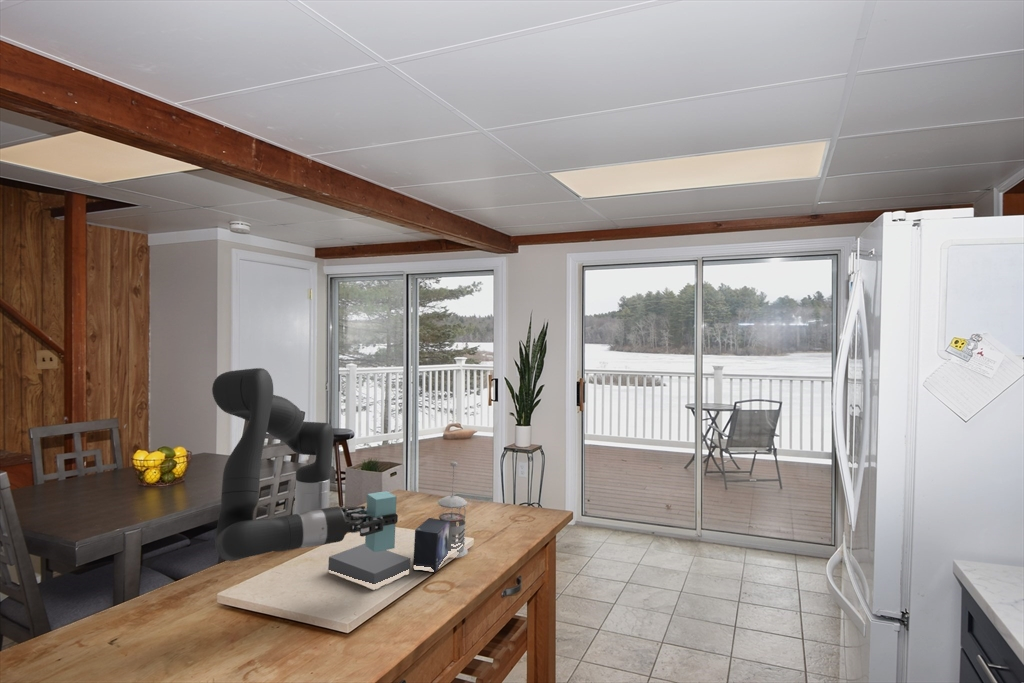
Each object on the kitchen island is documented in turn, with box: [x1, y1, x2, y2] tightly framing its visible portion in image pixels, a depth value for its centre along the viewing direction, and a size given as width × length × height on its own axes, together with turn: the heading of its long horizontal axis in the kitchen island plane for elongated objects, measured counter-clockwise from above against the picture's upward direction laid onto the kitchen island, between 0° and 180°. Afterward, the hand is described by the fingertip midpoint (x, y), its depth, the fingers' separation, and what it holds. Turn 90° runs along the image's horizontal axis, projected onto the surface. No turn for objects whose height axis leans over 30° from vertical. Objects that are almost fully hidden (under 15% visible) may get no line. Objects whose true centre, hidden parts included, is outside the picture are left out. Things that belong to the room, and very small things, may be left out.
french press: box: [437, 461, 469, 559], centre depth 165 cm, size 10×12×25 cm
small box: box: [412, 517, 450, 574], centre depth 155 cm, size 11×6×10 cm, turn 168°
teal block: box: [364, 490, 397, 552], centre depth 137 cm, size 5×5×12 cm
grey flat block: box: [327, 543, 411, 584], centre depth 147 cm, size 16×12×4 cm
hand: (391, 514), depth 139 cm, fingers closed on teal block, 5 cm apart
